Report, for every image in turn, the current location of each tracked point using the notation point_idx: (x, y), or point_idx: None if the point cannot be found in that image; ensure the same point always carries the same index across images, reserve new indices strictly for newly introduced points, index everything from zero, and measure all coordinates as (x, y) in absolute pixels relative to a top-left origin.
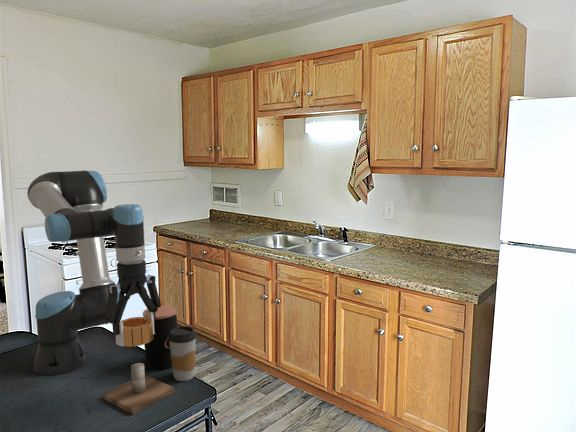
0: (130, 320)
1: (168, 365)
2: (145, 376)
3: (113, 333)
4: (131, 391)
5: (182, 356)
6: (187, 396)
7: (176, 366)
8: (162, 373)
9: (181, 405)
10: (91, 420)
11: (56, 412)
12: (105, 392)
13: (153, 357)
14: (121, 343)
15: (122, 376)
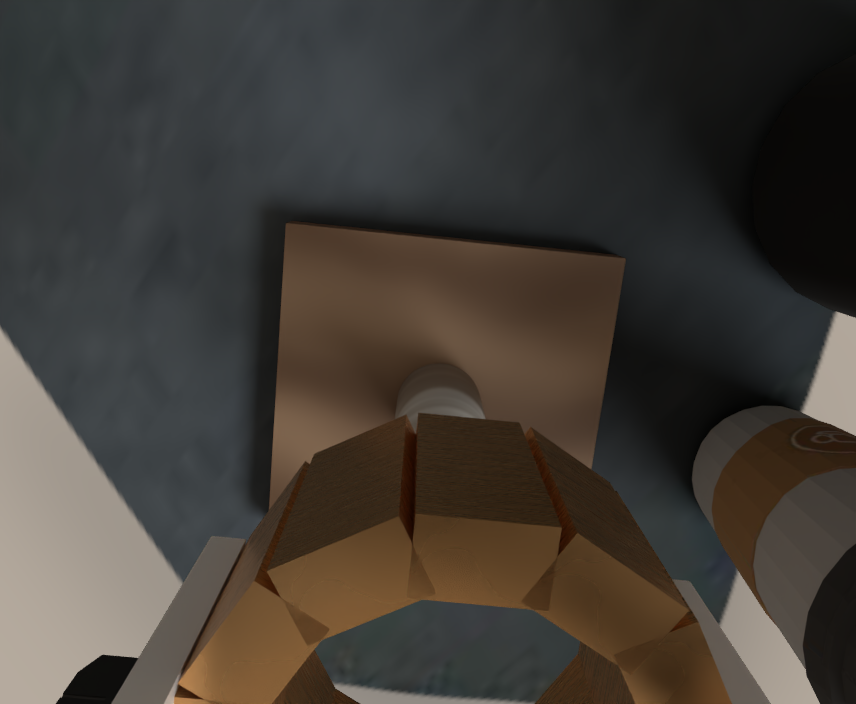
0: (524, 602)
1: (818, 302)
2: (602, 294)
3: (89, 668)
4: (405, 371)
5: (770, 617)
6: (569, 637)
7: (721, 524)
8: (733, 306)
9: (479, 669)
10: (106, 366)
11: (23, 94)
12: (305, 227)
13: (792, 228)
14: None
15: (570, 78)
